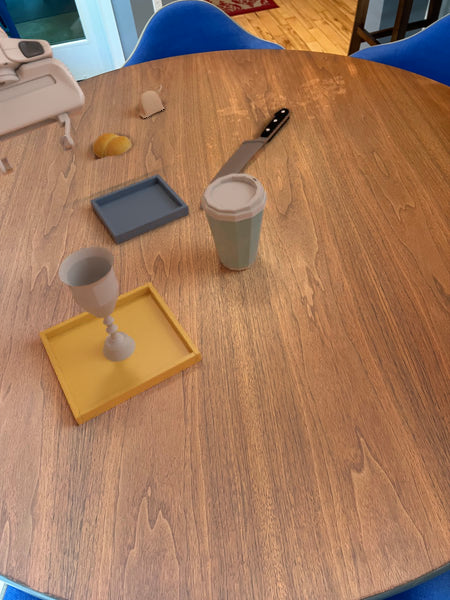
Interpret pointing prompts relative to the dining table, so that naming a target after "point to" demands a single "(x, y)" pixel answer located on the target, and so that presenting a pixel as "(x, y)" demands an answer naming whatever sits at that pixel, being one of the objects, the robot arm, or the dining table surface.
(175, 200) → the slate tray
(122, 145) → the bread roll
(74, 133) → the dining table surface
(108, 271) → the chalice
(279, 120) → the kitchen knife
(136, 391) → the mustard tray
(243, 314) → the dining table surface
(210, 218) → the disposable coffee cup
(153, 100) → the decorative ornament
